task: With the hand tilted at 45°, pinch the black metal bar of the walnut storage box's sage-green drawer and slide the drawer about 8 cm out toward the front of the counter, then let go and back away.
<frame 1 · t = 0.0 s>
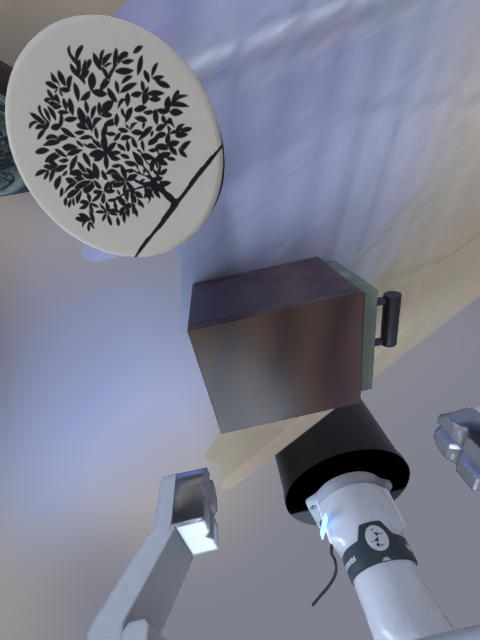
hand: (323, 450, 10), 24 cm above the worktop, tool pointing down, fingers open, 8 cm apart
storage box: (263, 317, 34), on the worktop
olive oil: (5, 132, 23), on the worktop
drawer: (311, 331, 30), point 5 cm above the worktop, slide at 0.5 cm
travel mug: (172, 166, 26), on the worktop
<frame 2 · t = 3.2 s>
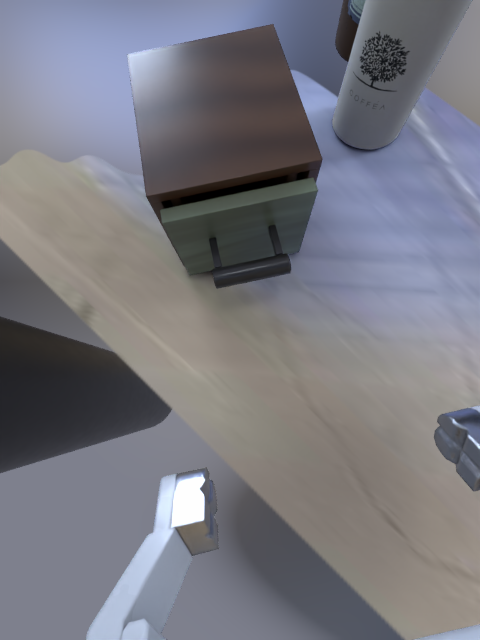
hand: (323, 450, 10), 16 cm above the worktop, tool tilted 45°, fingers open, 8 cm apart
storage box: (228, 197, 31), on the worktop
olive oil: (369, 46, 37), on the worktop
drawer: (232, 196, 25), point 5 cm above the worktop, slide at 0.5 cm
travel mug: (364, 127, 33), on the worktop
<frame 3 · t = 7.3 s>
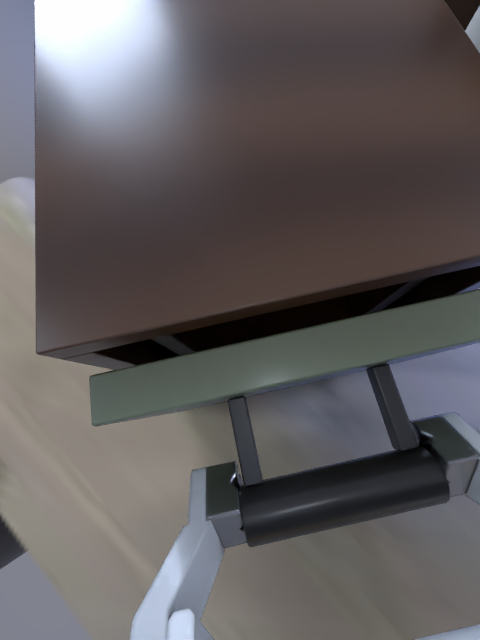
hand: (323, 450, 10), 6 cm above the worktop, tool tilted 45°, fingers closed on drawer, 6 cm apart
storage box: (251, 250, 18), on the worktop
olive oil: (462, 3, 24), on the worktop
drawer: (272, 276, 12), point 5 cm above the worktop, slide at 0.5 cm, touching gripper
travel mug: (473, 127, 20), on the worktop
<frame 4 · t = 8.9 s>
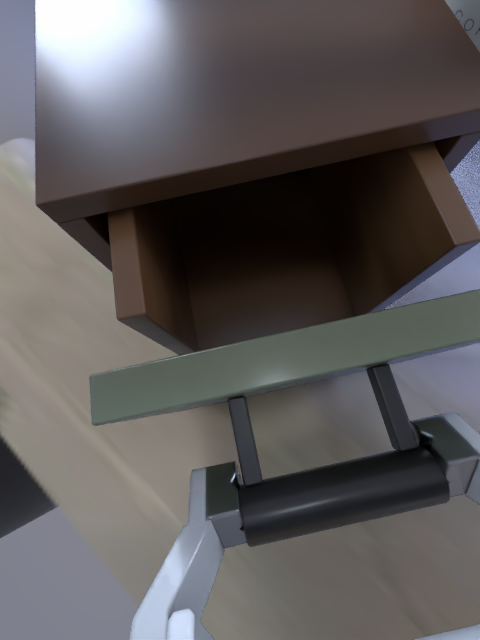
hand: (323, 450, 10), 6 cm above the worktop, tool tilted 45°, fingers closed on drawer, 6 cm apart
storage box: (239, 202, 19), on the worktop
drawer: (272, 276, 12), point 5 cm above the worktop, slide at 4.4 cm, touching gripper
travel mug: (451, 90, 21), on the worktop
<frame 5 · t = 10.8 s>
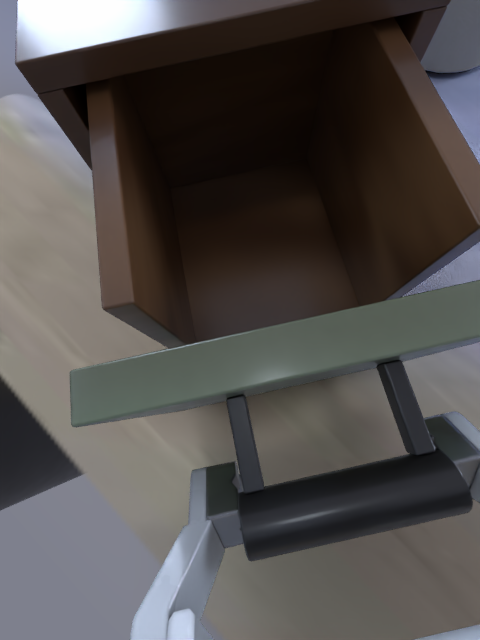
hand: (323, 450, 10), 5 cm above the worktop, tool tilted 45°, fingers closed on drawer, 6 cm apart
storage box: (227, 149, 20), on the worktop
drawer: (274, 267, 11), point 5 cm above the worktop, slide at 8.4 cm, touching gripper
travel mug: (437, 44, 22), on the worktop
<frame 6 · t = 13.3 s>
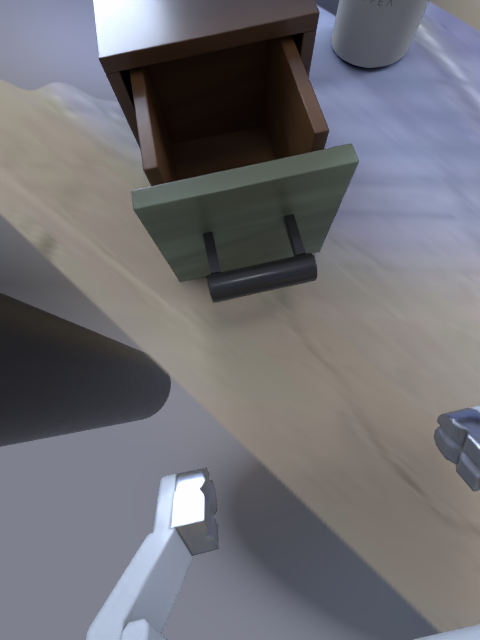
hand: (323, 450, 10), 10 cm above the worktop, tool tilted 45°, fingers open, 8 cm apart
storage box: (213, 121, 28), on the worktop
drawer: (234, 179, 19), point 5 cm above the worktop, slide at 8.4 cm
travel mug: (367, 47, 29), on the worktop
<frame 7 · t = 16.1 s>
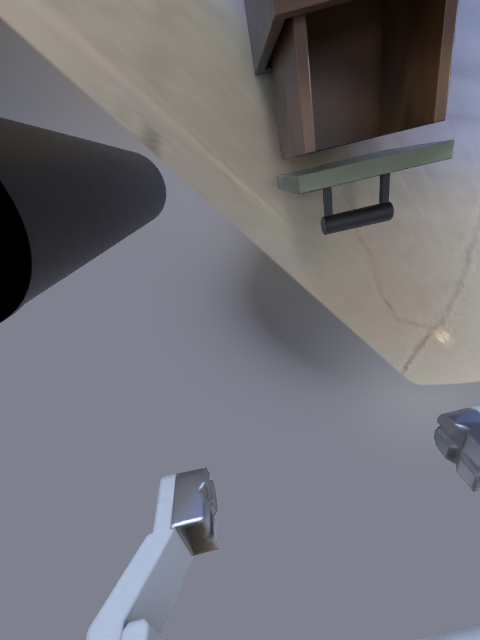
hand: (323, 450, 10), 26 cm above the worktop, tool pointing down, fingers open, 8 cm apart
drawer: (349, 113, 22), point 5 cm above the worktop, slide at 8.4 cm
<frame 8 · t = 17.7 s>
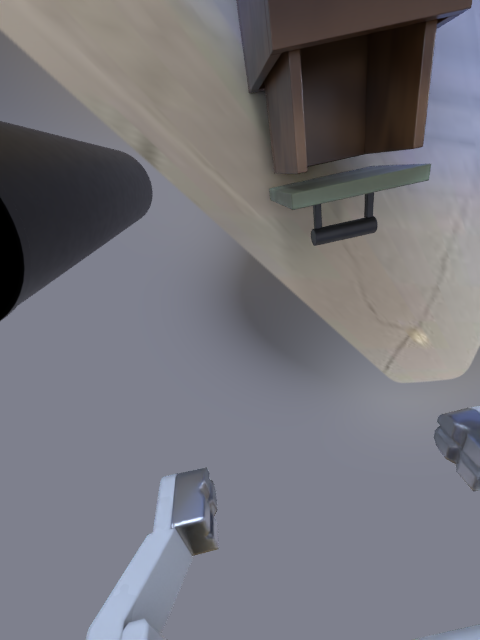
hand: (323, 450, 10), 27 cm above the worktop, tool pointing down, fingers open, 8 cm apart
drawer: (337, 134, 24), point 5 cm above the worktop, slide at 8.4 cm
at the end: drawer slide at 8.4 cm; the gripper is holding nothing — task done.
